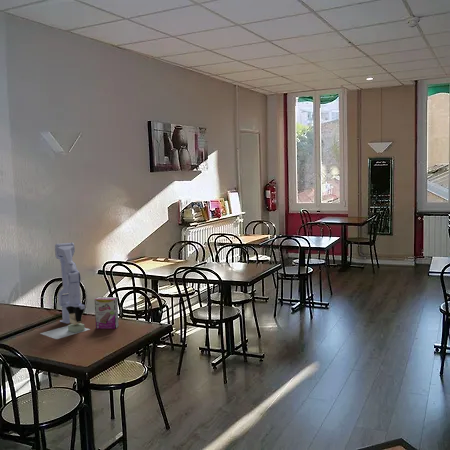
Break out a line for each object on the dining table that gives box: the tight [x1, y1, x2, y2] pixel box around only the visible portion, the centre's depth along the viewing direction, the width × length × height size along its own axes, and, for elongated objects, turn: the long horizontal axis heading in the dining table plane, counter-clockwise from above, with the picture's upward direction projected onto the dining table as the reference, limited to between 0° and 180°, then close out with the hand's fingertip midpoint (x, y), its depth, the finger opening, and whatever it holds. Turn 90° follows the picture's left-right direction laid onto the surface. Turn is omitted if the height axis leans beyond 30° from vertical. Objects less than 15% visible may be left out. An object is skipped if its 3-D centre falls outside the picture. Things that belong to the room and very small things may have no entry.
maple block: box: [69, 313, 83, 325], centre depth 275 cm, size 4×4×5 cm
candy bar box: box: [94, 296, 119, 330], centre depth 279 cm, size 11×5×16 cm, turn 84°
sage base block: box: [67, 323, 86, 333], centre depth 275 cm, size 6×6×3 cm
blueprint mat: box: [39, 325, 91, 340], centre depth 274 cm, size 20×16×1 cm
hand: (75, 320), depth 275 cm, fingers closed on maple block, 4 cm apart
